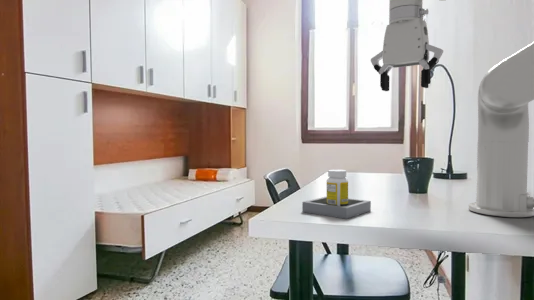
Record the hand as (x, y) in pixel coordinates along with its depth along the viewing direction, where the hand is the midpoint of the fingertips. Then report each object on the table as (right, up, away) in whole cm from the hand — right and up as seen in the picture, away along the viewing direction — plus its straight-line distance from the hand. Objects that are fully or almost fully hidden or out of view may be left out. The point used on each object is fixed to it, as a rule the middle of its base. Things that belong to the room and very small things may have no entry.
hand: (404, 89), depth 93 cm
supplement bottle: (-18, -28, -7) cm, 34 cm away
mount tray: (-18, -29, -7) cm, 34 cm away
